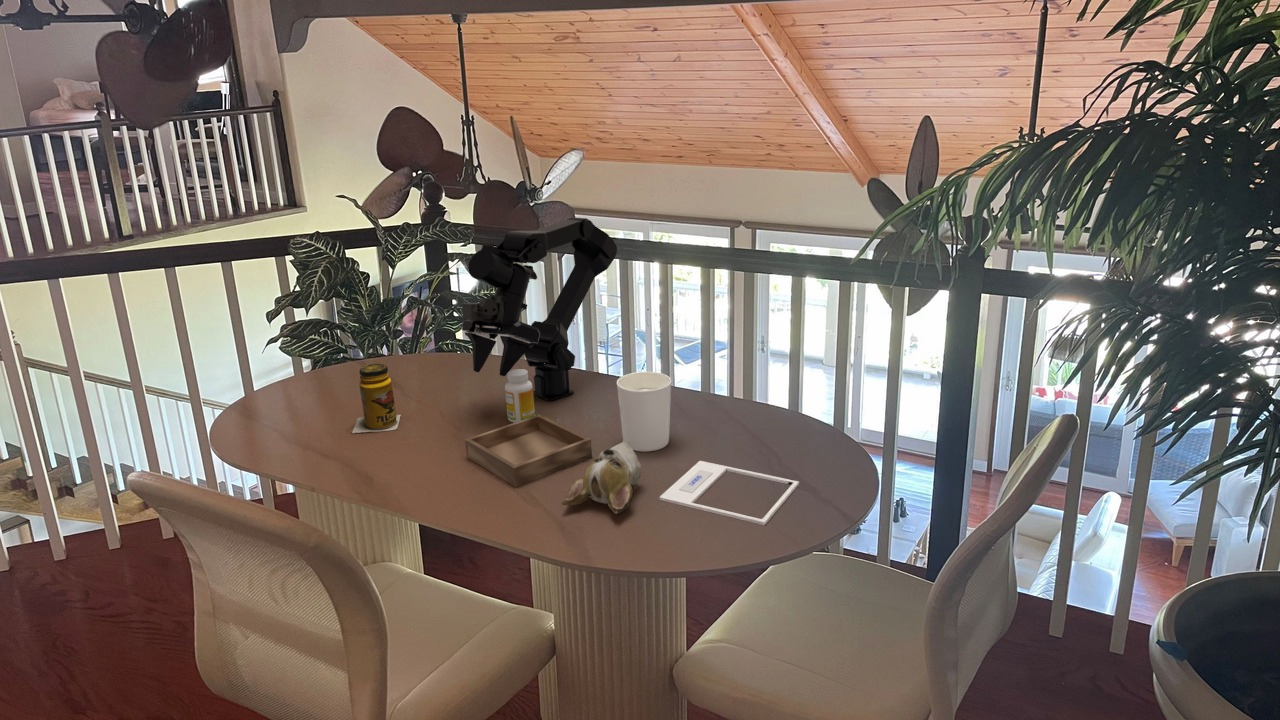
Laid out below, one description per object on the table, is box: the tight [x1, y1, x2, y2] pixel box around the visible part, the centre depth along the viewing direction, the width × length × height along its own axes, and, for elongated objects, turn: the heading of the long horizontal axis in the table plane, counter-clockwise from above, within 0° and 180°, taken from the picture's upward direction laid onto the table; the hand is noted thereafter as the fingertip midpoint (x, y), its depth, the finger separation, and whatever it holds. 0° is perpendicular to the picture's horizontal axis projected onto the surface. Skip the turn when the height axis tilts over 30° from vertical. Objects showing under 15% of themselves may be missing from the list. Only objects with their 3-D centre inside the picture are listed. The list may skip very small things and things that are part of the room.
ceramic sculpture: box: [561, 440, 643, 515], centre depth 143 cm, size 11×9×15 cm
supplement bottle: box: [504, 368, 536, 423], centre depth 175 cm, size 5×5×10 cm
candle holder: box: [616, 371, 672, 452], centre depth 162 cm, size 10×10×12 cm
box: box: [464, 413, 593, 488], centre depth 159 cm, size 16×16×4 cm
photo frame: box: [658, 460, 800, 526], centre depth 144 cm, size 15×1×18 cm
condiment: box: [351, 363, 401, 434], centre depth 174 cm, size 7×8×12 cm
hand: (488, 373), depth 169 cm, fingers open, 9 cm apart
